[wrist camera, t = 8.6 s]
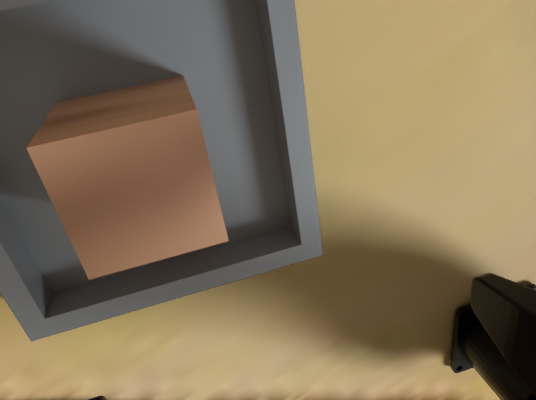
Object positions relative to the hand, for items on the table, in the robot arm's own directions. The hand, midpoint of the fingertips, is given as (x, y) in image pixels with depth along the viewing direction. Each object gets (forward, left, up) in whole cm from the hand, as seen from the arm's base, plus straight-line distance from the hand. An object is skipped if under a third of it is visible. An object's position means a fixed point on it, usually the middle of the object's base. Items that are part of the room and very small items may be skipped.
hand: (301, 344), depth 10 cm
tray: (+2, +3, -12) cm, 12 cm away
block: (+2, +3, -11) cm, 12 cm away
